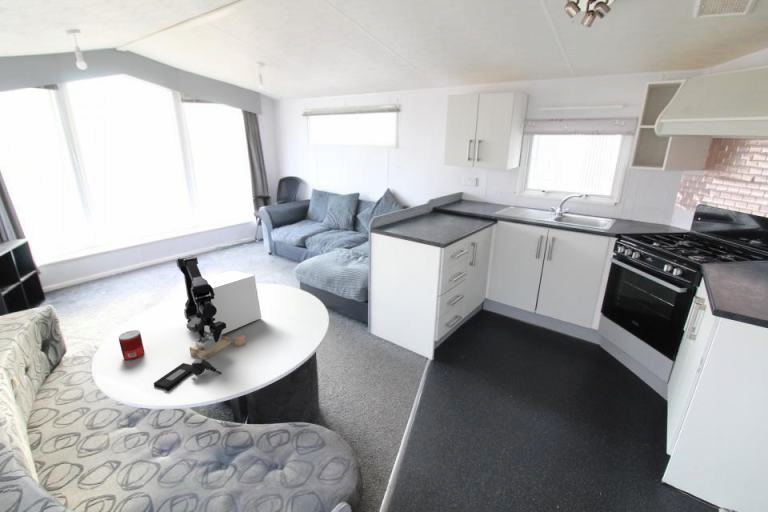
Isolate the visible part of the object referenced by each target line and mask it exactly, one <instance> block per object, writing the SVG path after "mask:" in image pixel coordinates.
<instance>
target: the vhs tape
mask: <svg viewBox="0 0 768 512" xmlns="http://www.w3.org/2000/svg"><path fill="white" fill-rule="evenodd" d="M191 365H192V364H189V363H185V362H183V363H181V364H180V365H178V366H176V367H175V368H173V369H172V370H171V371H169V372H167V373H166V374H164V375H163V376H162V377H160V378H159V379H157V380H156V381H155V382H153V387H155V388H159V389H162V390H165V391H166V392H167V391H168V392H169V391H171V390H173V389H174V388H175V387H177V385H179V384H180V383H181V382H182V381H183V380H185V379H186V378H187V377H190V376H191V375H192V372H191V371H190V369H189V368H190V366H191Z"/></svg>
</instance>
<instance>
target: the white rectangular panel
mask: <svg viewBox="0 0 768 512" xmlns="http://www.w3.org/2000/svg"><path fill="white" fill-rule="evenodd" d="M204 279H206V280H207V282H208V284H210V285H211V286H212V288H213V291H214V294H215V295H214V299H211V302H212V304H213V305H214V306H215V307H216V309H217V312H216V314H215V315H214V316H213V318H215V321H213V322H214V323H216V322H218V321H221V322H224V323H226V328H225V329H223V330H222V332H221V333H222V335H225V334H226V333H229V332H231V331H234V330H236V329H238V328H241V327H243V326H245V325H248V324H250V323H253V322H254V321H258V320H260V319H262V313H261V306H260V300H259V295H258V288H257V283H256V277H255V274H251V273H246V272H240V271H238V270H237V271H236V270H230V271H227V272H223V273H220V274H219V273H218V274H217V275H212V276H209V277H205V278H204ZM210 295H211V294H209V295H206V296H210ZM196 299H197V298H196ZM195 304H196V303H195ZM194 316H195V315H194ZM209 327H210V326H205V329H204V332H205V333H207V334H209V333H210V332H211V331H210V330H209Z"/></svg>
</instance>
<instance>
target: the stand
mask: <svg viewBox="0 0 768 512" xmlns="http://www.w3.org/2000/svg"><path fill="white" fill-rule="evenodd" d="M222 340H223V341H221V342H219V343H218V344H216V345H214V346H213V347H211V348H209V349H207V350H206V351H202V350H199V349H197V347H196V345H195V346H189V347H188V348H189V354H190V355H191V356H193V357H197V358H198V359H199V358H200V359H204V360H205V361H207V360H208V359H209V358H211V357H213V356H214V355H215V354H217V353H218V352H220V351H222V350H223V349H224V348H226V347H228V346H229V345H231V343H232V342H231V338H230V337H228V336H225V335H222Z"/></svg>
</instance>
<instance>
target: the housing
mask: <svg viewBox="0 0 768 512" xmlns="http://www.w3.org/2000/svg"><path fill="white" fill-rule="evenodd" d="M222 336H223V334H222V333H221V334H220V337H219V339H218V342H216V343H215V341H214V337H213V334H212V333H207V334H206V335H204V336H203V337H202V338H201V337H200V338H198V339H197V340H195V346H196V347H197V349H199V350H202V351H206V350H207V349H209V348H211V347H213V346H214V345H216V344H218V343H219V342H221V341H223V340H222Z"/></svg>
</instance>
